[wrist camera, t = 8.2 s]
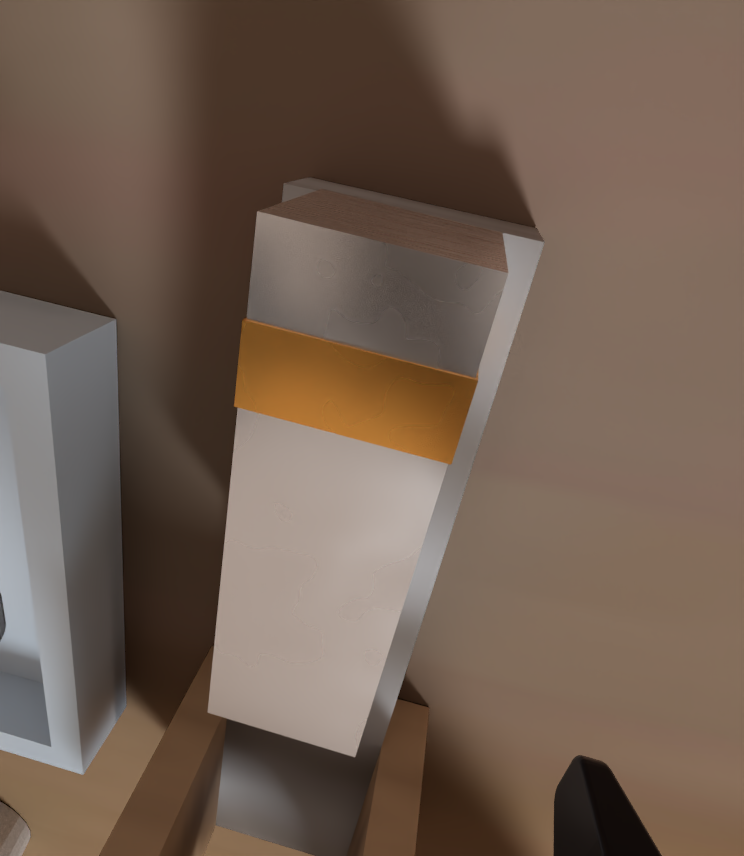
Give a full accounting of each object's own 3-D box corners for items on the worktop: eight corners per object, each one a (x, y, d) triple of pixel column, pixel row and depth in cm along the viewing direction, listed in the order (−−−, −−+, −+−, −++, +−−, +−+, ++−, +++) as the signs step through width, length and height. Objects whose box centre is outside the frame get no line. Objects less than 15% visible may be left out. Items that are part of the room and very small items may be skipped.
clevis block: (386, 823, 25) (344, 1114, 18) (202, 768, 26) (85, 1027, 18) (600, 242, 13) (748, 380, 6) (249, 163, 14) (-27, 196, 6)
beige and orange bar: (382, 636, 17) (356, 760, 14) (259, 600, 18) (204, 713, 14) (504, 232, 12) (512, 274, 8) (320, 188, 12) (252, 210, 8)
